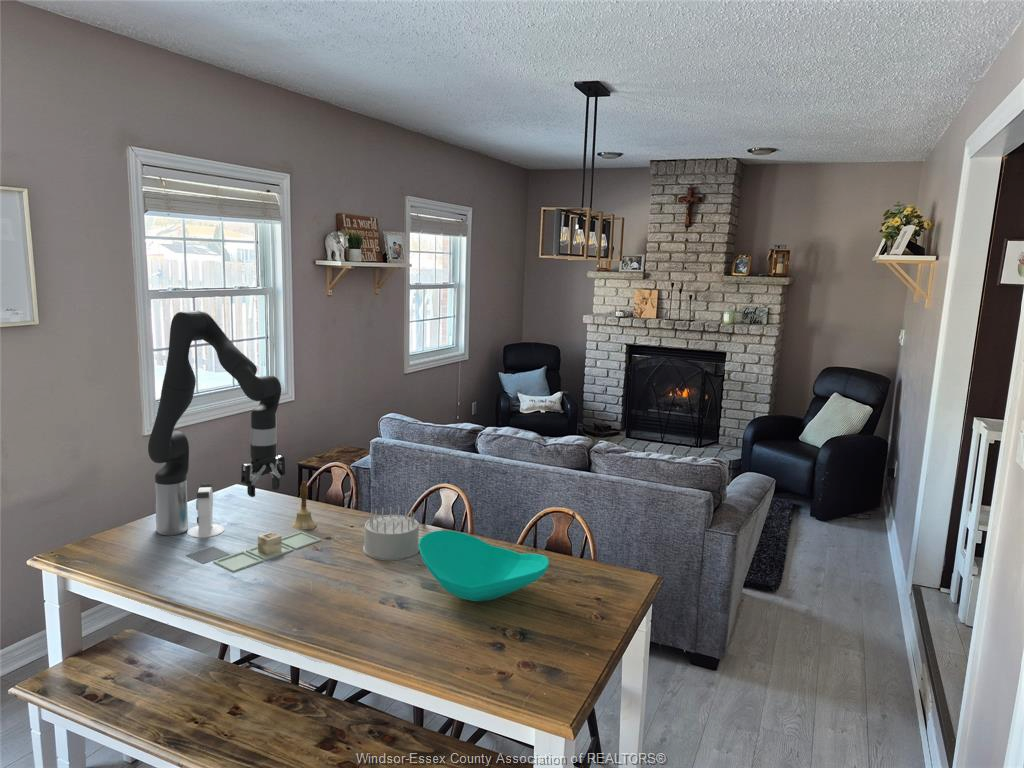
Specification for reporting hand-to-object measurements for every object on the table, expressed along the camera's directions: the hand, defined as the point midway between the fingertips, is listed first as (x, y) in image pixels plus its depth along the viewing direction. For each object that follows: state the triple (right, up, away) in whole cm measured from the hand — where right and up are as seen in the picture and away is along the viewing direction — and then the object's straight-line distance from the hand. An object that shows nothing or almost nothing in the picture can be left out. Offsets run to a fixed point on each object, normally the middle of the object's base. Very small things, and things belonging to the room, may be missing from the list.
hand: (263, 492), depth 216 cm
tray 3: (+7, -18, +13) cm, 24 cm away
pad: (-17, -19, -1) cm, 26 cm away
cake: (+37, -20, +12) cm, 44 cm away
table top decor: (+67, -26, -17) cm, 74 cm away
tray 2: (0, -19, +4) cm, 20 cm away
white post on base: (-26, -16, +19) cm, 36 cm away
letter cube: (0, -19, +4) cm, 19 cm away
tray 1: (-6, -20, -4) cm, 22 cm away
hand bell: (+4, -16, +27) cm, 32 cm away
